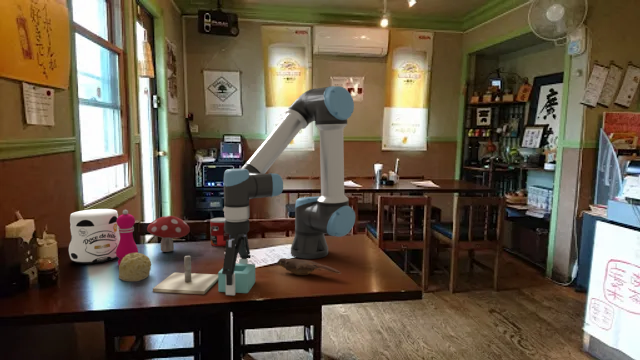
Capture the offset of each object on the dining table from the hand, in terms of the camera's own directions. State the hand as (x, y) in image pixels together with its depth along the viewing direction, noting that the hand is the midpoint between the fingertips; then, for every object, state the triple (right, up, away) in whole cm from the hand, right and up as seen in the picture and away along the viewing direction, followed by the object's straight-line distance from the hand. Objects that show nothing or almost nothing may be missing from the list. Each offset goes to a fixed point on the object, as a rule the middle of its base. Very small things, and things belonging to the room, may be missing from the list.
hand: (237, 286), depth 123 cm
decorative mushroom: (-35, +4, +35) cm, 50 cm away
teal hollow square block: (0, 0, 0) cm, 0 cm away
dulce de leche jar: (-58, +3, +25) cm, 63 cm away
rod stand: (-16, 0, +2) cm, 16 cm away
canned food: (-17, +5, +48) cm, 51 cm away
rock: (-35, +1, +7) cm, 36 cm away
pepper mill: (-44, +3, +20) cm, 49 cm away
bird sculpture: (+21, +1, +11) cm, 24 cm away
